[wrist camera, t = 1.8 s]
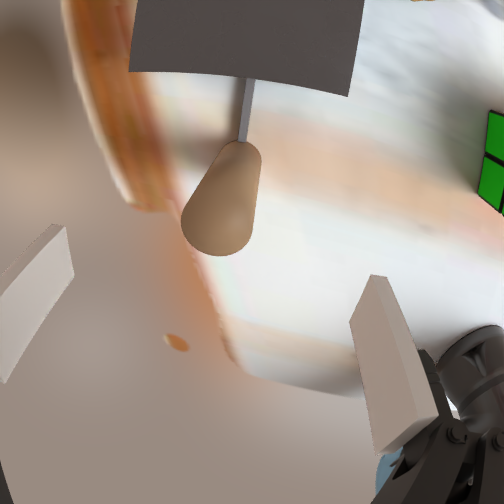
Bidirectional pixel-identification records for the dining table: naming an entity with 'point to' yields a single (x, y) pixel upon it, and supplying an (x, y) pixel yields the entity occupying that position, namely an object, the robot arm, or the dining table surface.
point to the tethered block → (226, 194)
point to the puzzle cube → (493, 163)
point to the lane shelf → (251, 40)
